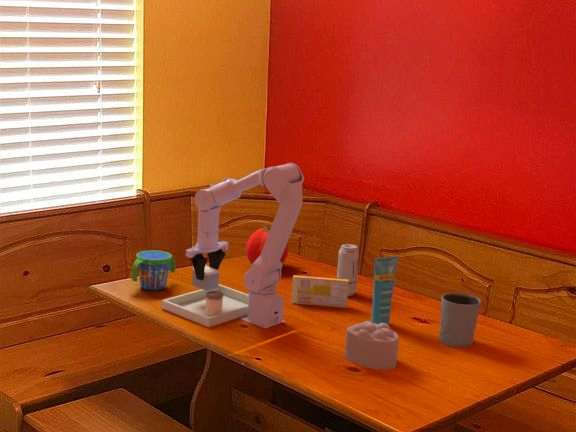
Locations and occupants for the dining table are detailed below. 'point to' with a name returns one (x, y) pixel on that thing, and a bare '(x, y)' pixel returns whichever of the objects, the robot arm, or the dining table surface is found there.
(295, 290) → the candy box
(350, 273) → the energy drink can
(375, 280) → the tube
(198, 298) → the white square tray
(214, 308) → the jar
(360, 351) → the lumpy-topped squat cylinder
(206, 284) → the pale pink block
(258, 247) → the tomato
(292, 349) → the dining table surface
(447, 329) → the grey tapered cup
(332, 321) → the dining table surface
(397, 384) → the dining table surface
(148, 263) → the snack cup
